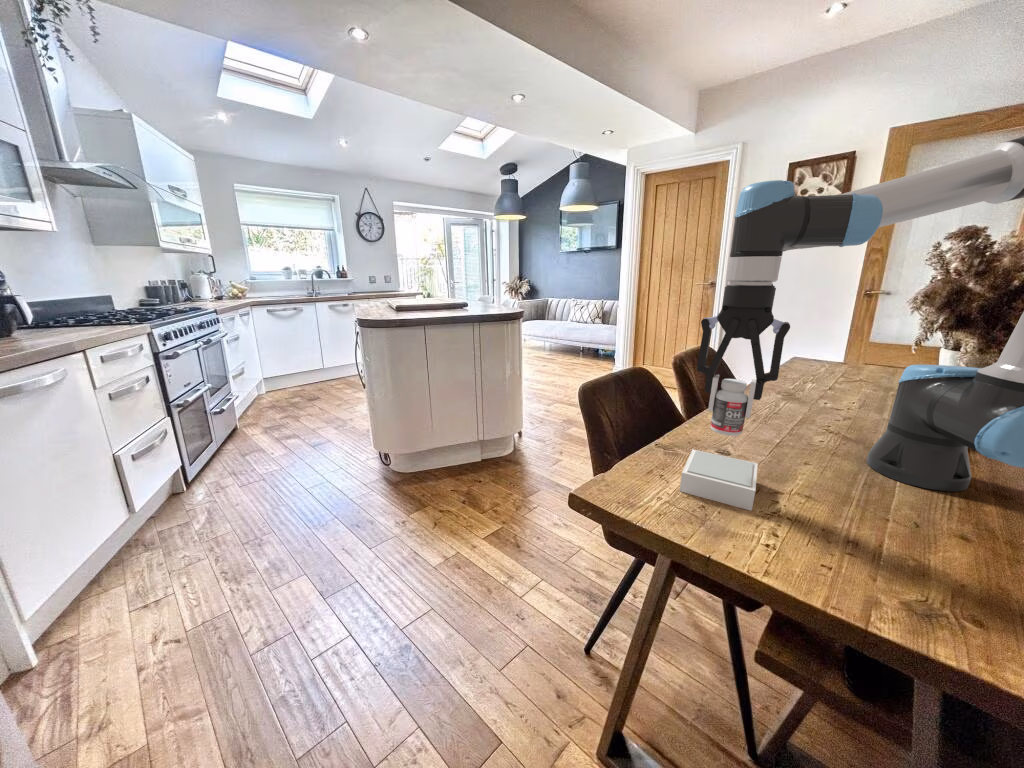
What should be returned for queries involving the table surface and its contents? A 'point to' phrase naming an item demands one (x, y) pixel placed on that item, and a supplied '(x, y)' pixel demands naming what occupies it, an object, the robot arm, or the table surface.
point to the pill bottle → (730, 408)
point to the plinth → (720, 479)
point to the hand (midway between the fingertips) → (729, 412)
